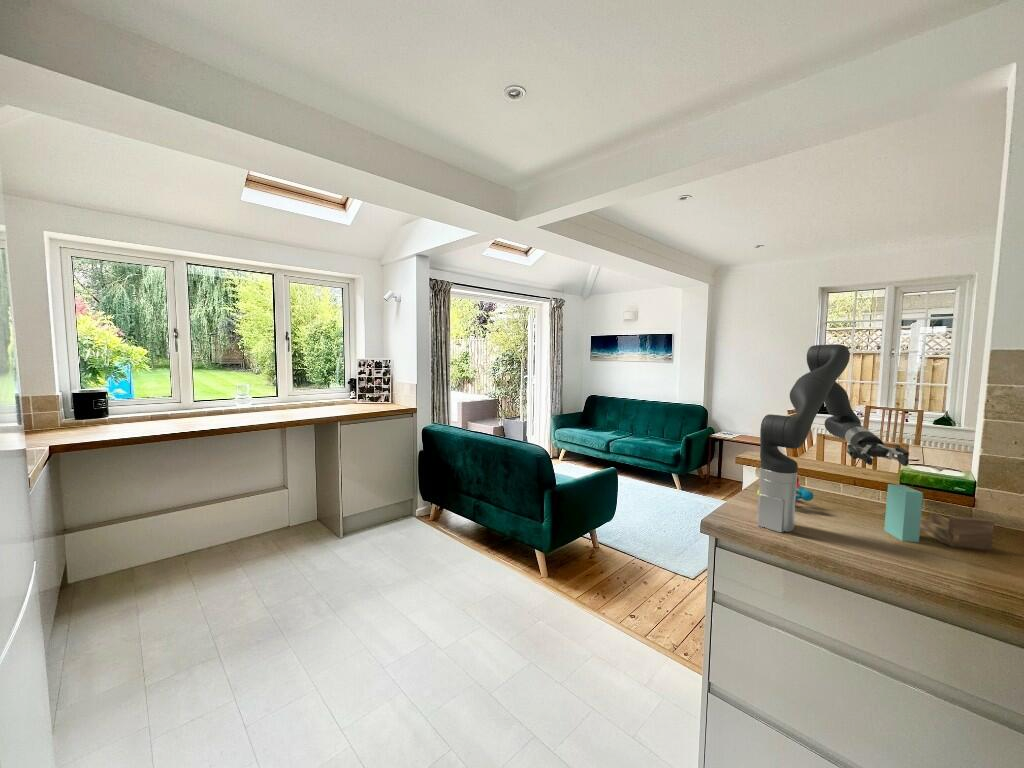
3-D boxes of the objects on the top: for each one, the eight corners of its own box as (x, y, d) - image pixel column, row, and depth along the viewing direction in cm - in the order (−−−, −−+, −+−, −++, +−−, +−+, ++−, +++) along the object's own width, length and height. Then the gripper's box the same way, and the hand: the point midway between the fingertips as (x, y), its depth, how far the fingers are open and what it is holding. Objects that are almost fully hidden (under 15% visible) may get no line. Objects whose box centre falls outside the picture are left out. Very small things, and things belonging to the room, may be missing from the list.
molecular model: (772, 519, 136) (819, 504, 133) (759, 493, 137) (806, 476, 134) (755, 504, 151) (797, 489, 148) (744, 480, 152) (786, 465, 148)
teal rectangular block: (918, 542, 114) (923, 492, 113) (902, 540, 114) (906, 491, 113) (899, 531, 120) (903, 485, 120) (884, 530, 121) (888, 484, 120)
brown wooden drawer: (991, 550, 109) (994, 521, 109) (951, 547, 111) (954, 518, 110) (935, 524, 127) (937, 498, 126) (901, 521, 129) (903, 496, 128)
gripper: (838, 430, 141) (861, 450, 126) (890, 431, 136) (920, 452, 121) (837, 450, 143) (858, 473, 128) (887, 451, 138) (916, 474, 123)
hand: (888, 462), depth 125 cm, fingers open, 8 cm apart
